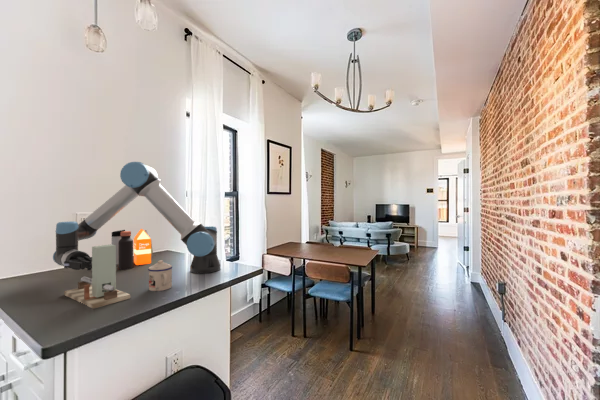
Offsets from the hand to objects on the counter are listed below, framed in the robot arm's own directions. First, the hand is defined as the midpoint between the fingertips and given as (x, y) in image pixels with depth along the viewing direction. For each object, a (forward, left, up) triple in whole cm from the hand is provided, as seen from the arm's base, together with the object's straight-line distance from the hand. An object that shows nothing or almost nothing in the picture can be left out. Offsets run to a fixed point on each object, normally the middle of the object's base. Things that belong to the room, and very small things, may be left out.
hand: (101, 266), depth 105 cm
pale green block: (-2, +1, -10) cm, 10 cm away
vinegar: (+23, -46, -12) cm, 53 cm away
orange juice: (+22, -59, -12) cm, 64 cm away
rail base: (+4, -2, -12) cm, 13 cm away
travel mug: (+33, -54, -12) cm, 64 cm away
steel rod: (+4, -2, -8) cm, 9 cm away
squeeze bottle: (+28, -72, -12) cm, 78 cm away
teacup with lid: (-16, -12, -12) cm, 24 cm away
